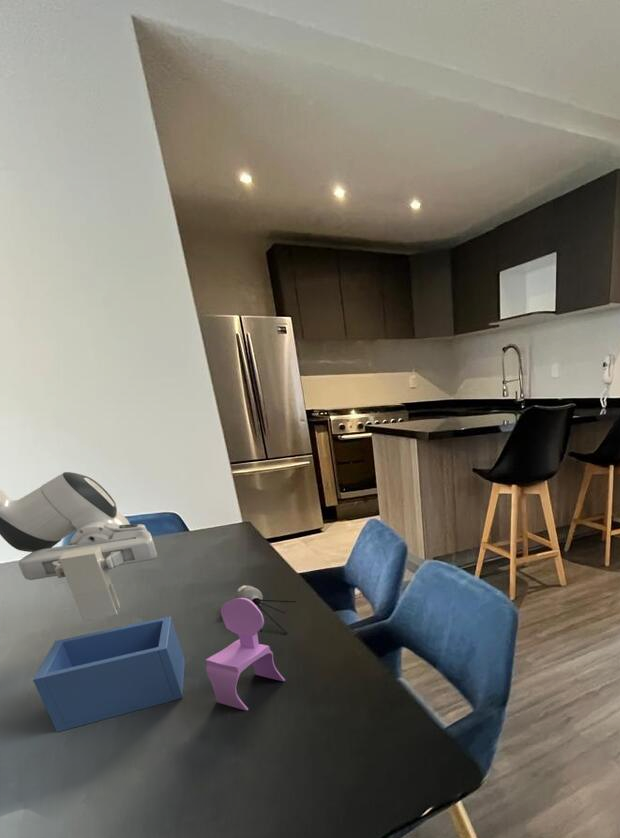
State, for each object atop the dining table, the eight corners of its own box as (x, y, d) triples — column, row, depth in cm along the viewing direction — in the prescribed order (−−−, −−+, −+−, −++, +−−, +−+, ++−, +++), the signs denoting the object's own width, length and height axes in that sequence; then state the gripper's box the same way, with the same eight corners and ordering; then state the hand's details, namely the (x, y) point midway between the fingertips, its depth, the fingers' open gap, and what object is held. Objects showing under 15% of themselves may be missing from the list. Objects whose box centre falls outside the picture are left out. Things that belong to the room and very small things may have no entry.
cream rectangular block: (83, 622, 84) (58, 559, 80) (88, 612, 88) (64, 552, 83) (117, 615, 86) (94, 553, 82) (120, 606, 90) (99, 546, 85)
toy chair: (209, 702, 75) (182, 615, 69) (251, 672, 82) (230, 590, 77) (249, 714, 72) (225, 623, 66) (290, 681, 79) (271, 597, 73)
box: (57, 732, 71) (32, 679, 67) (75, 688, 81) (55, 640, 78) (182, 698, 77) (166, 648, 73) (185, 661, 87) (170, 615, 84)
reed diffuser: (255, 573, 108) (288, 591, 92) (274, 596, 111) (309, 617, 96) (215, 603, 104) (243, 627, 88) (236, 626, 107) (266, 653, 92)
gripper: (26, 540, 89) (-1, 563, 78) (153, 522, 97) (146, 540, 85) (39, 573, 92) (15, 599, 80) (162, 552, 99) (157, 574, 88)
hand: (84, 569), depth 83 cm, fingers closed on cream rectangular block, 5 cm apart
